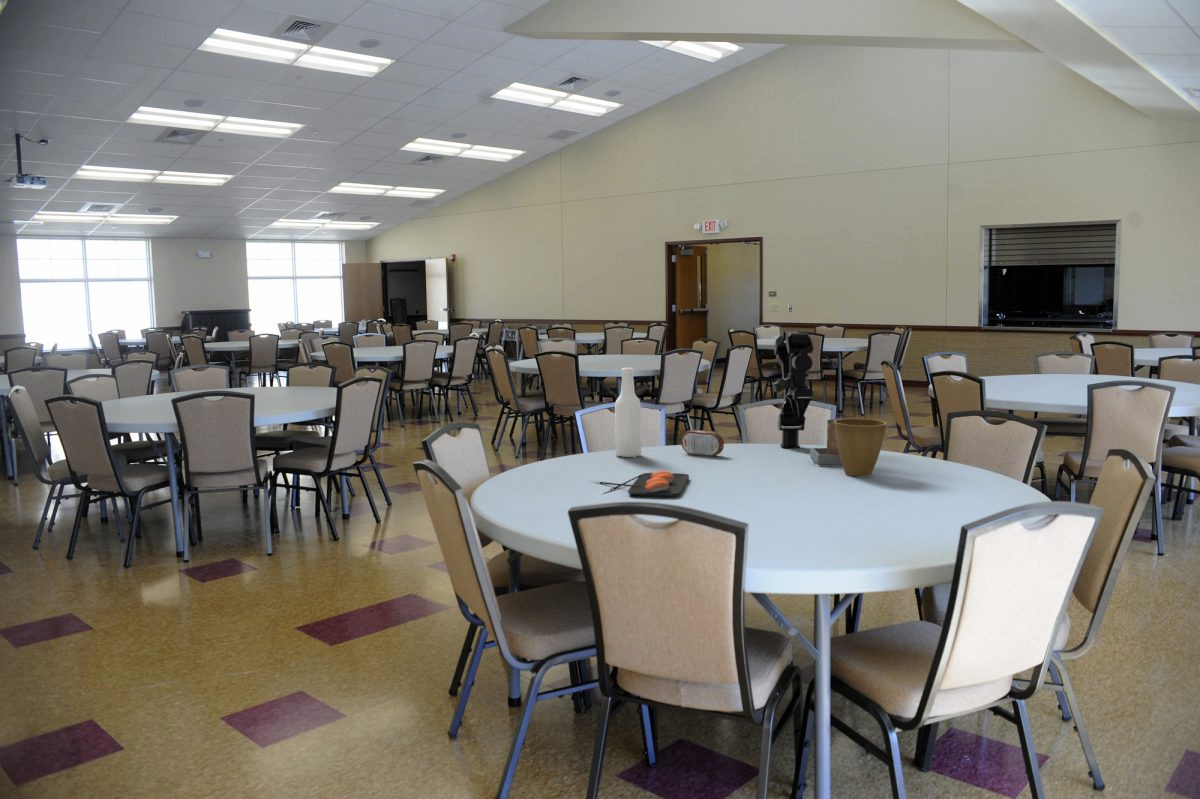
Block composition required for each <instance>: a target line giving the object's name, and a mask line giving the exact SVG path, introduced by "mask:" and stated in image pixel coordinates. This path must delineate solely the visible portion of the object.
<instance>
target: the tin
mask: <svg viewBox="0 0 1200 799" xmlns="http://www.w3.org/2000/svg"><path fill="white" fill-rule="evenodd" d="M680 442H681V443H680V444H681V447H682V449H683V451H684V452H685V453H687V454H689V455H691V454H692V455H693V456H694V455H695V456H702V455H703V456H705V457H715V456H718V455H720V454H721V453H722V452H723V450H724V447H725V442H724V439H723V437H722V436H721V435H720V434H719V433H718V432H716V431H711V430H700V429H699V430H698V429H690V430H688V431H687V432H685V433H684V434H683V435H682V437H681V441H680ZM703 456H702V457H703Z"/></svg>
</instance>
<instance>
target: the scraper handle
mask: <svg viewBox="0 0 1200 799" xmlns="http://www.w3.org/2000/svg"><path fill="white" fill-rule="evenodd" d="M835 420H838V418H837V419H834V418H833V419H827V421H826V424H827V426H826V427H827V428H826V434H827V435H826V448H827V455H840V454H839V450H838V445H837V440H836V434H835V425H834V421H835Z"/></svg>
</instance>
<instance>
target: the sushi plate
mask: <svg viewBox="0 0 1200 799" xmlns="http://www.w3.org/2000/svg"><path fill="white" fill-rule="evenodd" d="M689 478H690V476H689V474H687V473H679V472H678V473H674V472H673V473H671V472H670V471H666V470H665V471H664V470H658V471H656V472H643V473H642V474H639V475H638V476H635V477H633V478H630V479H629V480H627V481H625V482H622V483H616V482H605V481H598V480H597V482H600V483H604V484H603V485H612V486H614V487H612V488H610V489H609V490H612V489H615V488H617V489H618V488H621V487H629V489H628V494H630V495H636V496H641V497H661V496H663V497H672V496H678V495H680V494H681V493H682V492H683V491H684V488H685V486H686V484H687V482H688V480H689ZM633 480H635V481H634V482H633V483H632V484H628V483H630V482H631V481H633ZM615 490H616V489H615Z"/></svg>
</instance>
